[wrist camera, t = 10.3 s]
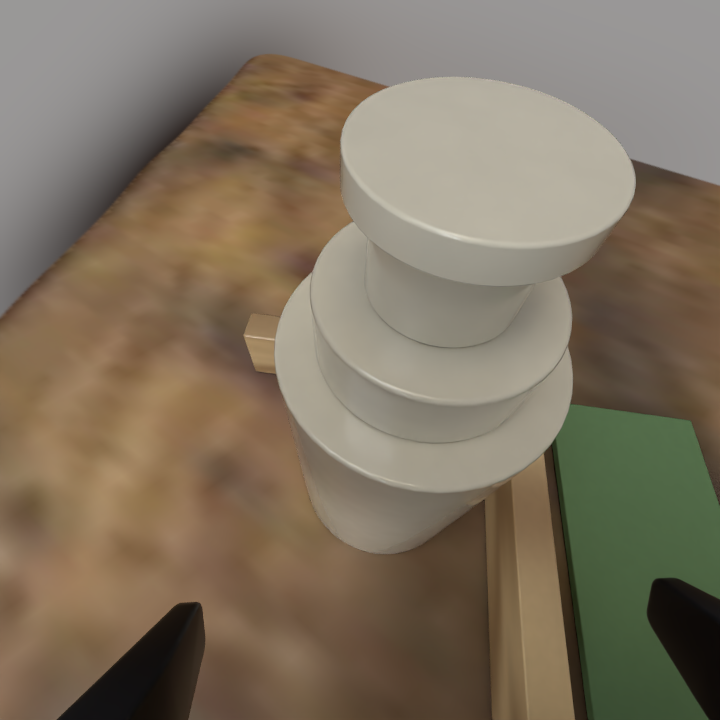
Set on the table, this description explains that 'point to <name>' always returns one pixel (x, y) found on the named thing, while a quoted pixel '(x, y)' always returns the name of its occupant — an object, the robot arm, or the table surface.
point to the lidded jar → (443, 302)
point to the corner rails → (504, 582)
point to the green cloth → (633, 551)
